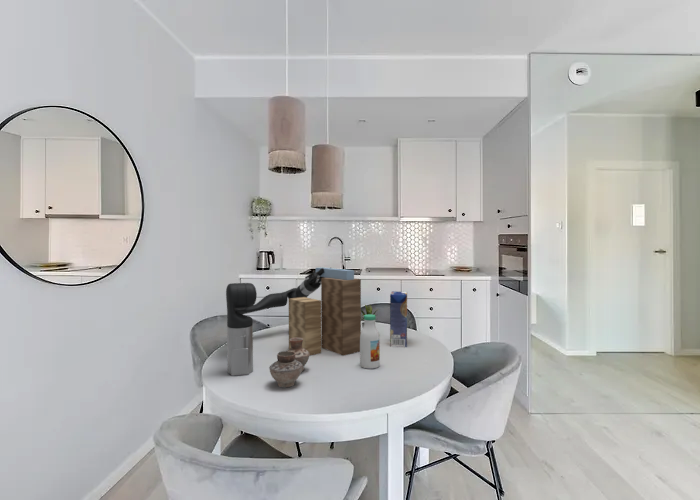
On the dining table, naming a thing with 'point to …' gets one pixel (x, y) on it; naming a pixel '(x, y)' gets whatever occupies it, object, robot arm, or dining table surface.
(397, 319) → the juice carton
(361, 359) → the milk bottle
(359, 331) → the tall stand
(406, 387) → the dining table surface
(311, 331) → the lower block
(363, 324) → the house plant
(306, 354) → the pottery
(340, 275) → the rod
